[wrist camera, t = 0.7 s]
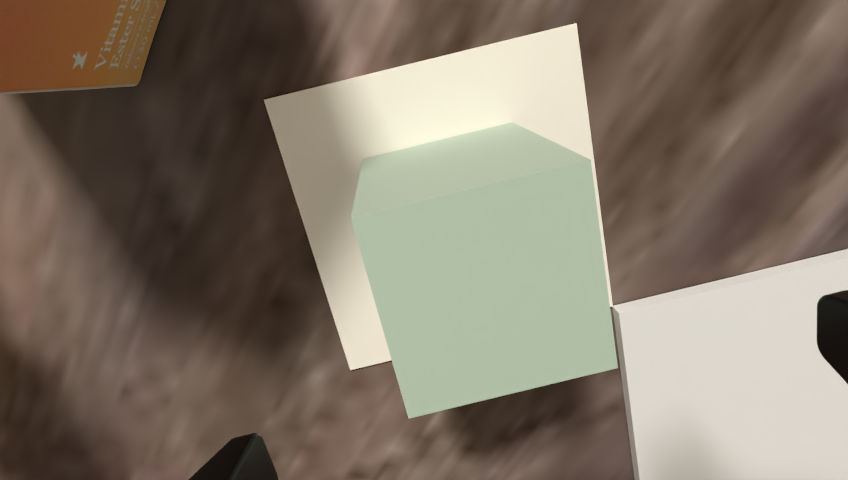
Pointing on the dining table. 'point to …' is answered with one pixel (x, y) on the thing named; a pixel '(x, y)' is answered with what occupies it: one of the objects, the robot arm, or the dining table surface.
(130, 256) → the dining table surface
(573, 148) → the tile
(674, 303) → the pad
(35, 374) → the dining table surface
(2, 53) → the small box
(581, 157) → the sage block
